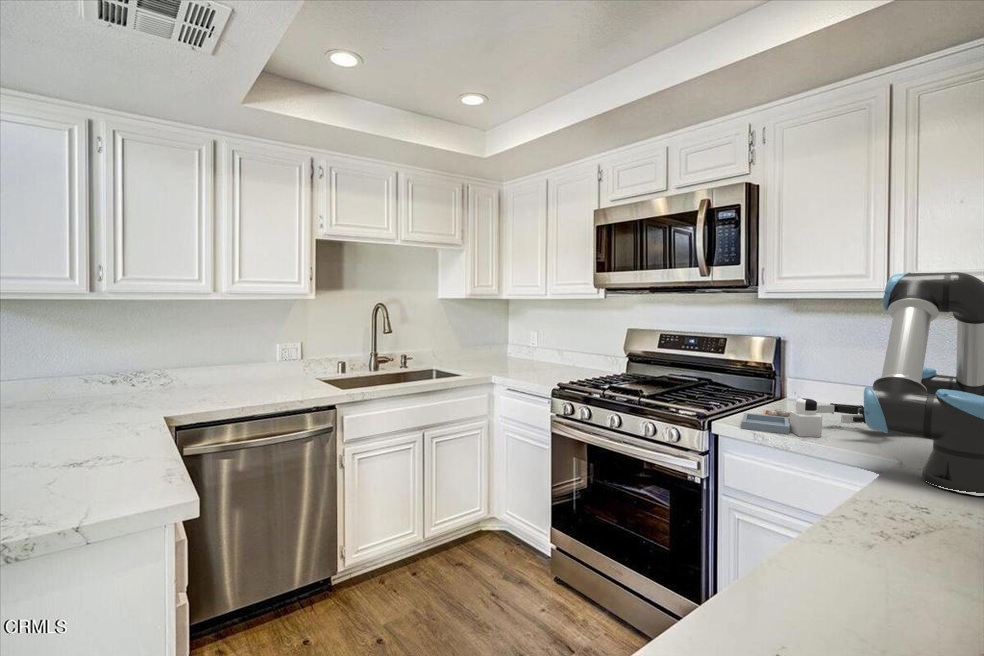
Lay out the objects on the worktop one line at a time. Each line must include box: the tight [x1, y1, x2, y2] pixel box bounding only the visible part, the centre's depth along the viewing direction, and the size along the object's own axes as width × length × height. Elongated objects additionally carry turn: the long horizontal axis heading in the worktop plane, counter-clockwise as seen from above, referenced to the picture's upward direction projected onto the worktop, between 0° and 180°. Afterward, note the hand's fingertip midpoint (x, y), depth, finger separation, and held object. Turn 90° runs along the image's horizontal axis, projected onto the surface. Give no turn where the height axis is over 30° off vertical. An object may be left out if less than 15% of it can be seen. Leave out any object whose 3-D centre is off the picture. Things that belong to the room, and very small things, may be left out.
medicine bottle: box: [789, 397, 823, 438], centre depth 171 cm, size 7×7×12 cm
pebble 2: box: [773, 408, 783, 416], centre depth 193 cm, size 3×3×3 cm
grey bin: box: [741, 412, 790, 435], centre depth 181 cm, size 14×14×3 cm
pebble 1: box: [768, 409, 777, 416], centre depth 190 cm, size 3×3×3 cm
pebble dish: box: [762, 409, 790, 424], centre depth 191 cm, size 10×10×2 cm
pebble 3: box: [779, 410, 788, 417], centre depth 189 cm, size 3×3×3 cm
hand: (827, 413), depth 171 cm, fingers open, 13 cm apart
